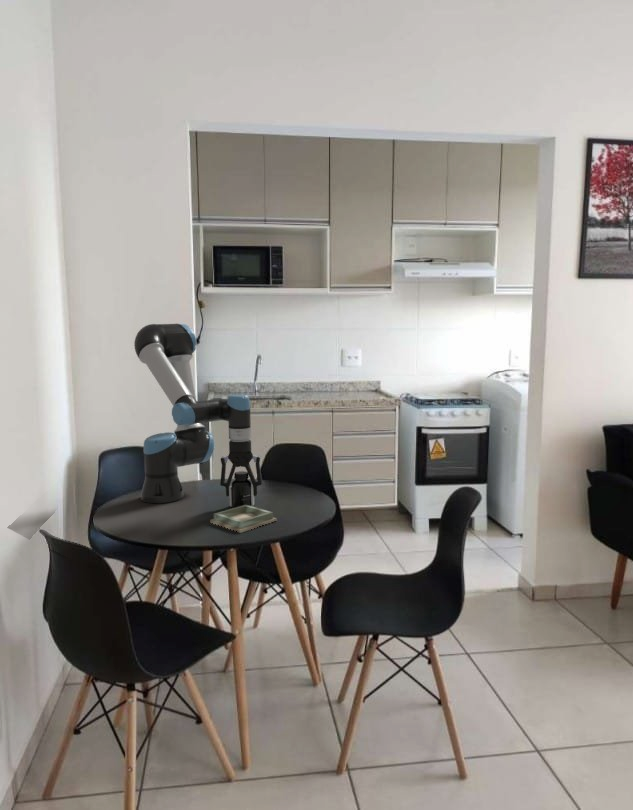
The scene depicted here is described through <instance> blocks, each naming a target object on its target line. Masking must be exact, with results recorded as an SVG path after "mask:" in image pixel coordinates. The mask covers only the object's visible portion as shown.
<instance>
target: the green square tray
mask: <svg viewBox="0 0 633 810" xmlns="http://www.w3.org/2000/svg"><path fill="white" fill-rule="evenodd" d="M274 521H277V522H278V518H277V517H274V512H273V511H269V510H266V509H263V508H259V507H255V506H252V505H251V506H249V505H243V506H239V507H236V508H234V507H232V508H229V509H224V510H222V511H218V512H215V513H213V518H212V519H210V520H209V522H210V524H212V523H213V524H212V525H215V524H216V525H215V526H218V525H219V526H218V527H221V526H222V527H221V528H224V527H225V528H224V529H227V528H228V529H227V530H230V529H231V530H230V531H233V530H234V531H233V532H236V531H237V532H236V533H239V534H242V533H245V532H248V531H252V530H254V528H255V529H257V527H258V528H260V527H259V526H261V527H263V526H262V525H264V526H266V525H265V524H267V525H269V524H268V523H270V524H272V523H271V522H274ZM274 523H275V522H274ZM251 529H252V530H251Z"/></svg>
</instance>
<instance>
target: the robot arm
mask: <svg viewBox="0 0 633 810" xmlns="http://www.w3.org/2000/svg"><path fill="white" fill-rule="evenodd" d="M197 343H198V342H197V337H196V334H195V332H194V330H193V329H192V328H191V327H190V326H189V325H187V324H182V323H160V324H159V323H158V324H157V323H151V324H150V323H149V324H147V325H145V326H143V327H142V328H140V329H139V331H138V332H137V334H136V335H135V338H134V345H133V346H134V351H135V354H136V356H137V358H138V360H139V361H140V362H141V363H142V364H145V365H146V366H147V368H148V369H149V372H150V373H151V374H152V375H153V377H154V378H155V380H156V382H157V384H158V385H159V386H160V387H161V390H162V391H163V392H164V394H165V396H166V398H168V400H169V402H170V403H171V404H172V406H173V407H172V408H171V416H172V420H173V422H174V423H175V424H176V428H175V430H173V432H162V433H161V432H160V433H155V434H153V435H149V436H148V437H146V438H145V439H144V441H143V461H144V462H143V463H144V465H143V466H144V482H143V485H142V487H141V488H142V489H141V492H140V500H141V501H142V502H144V503H149V504H164V503H172V502H175V501H179V500H181V499H183V498H184V489H183V486H182V484H181V480H180V478H179V476H178V475H179V472H178V469H179V468H181V467H185V466H190V465H197V464H201V463H204V462H207V461H209V460H210V459H211V458H212V456H213V454H214V450H215V440H214V436H213V435H212V433H211V432H210V431H207V430H206V426H205V425H204V424H202V423H210V422H211V423H212V422H218V421H226V422H227V424H228V439H229V441H228V450H229V453H228V455H227V456H226V455H225V456H221V458H220V462H221V463H220V464H221V472H220V481H219V483H220V484H219V485H220V486H221V487H224V488H225V493H226V494H225V495H226V497H228V498H229V507H233V506H232V485H231V484H232V481H233V480H232V479H233V478H234V473H235V470H236V469H237V468H239V467H240V468H241V467H242V468H245V470H246V472H248V476H249V480H250V481H251V506H252V507H255V506H254V505H255V497H256V496H257V495H258V487H259V486H261V485H262V484H263V478H262V472H261V465H260V461H261V455H254V454H253V453H252V441H251V438H252V429H251V428H252V426H251V423H252V422H251V420H252V419H251V403H250V402H251V401H250V400H251V399H250V396H249V395H247V394H230V395H228V396H227V399H226V398H221V397H213V398H211V399H207V400H197V396H196V391H195V386H194V381H193V375H192V374H193V373H192V370H191V369H192V368H191V364H190V363H191V362H190V361H191V360H192V358H193V353H195V351H196V349H197ZM252 459H253V462H254V463H255V471H256V476H257V480H256V478H255V475H254V473H253V471H252V468H251V465H250V462H252ZM228 461H230V463H231V465H232V466H231V468H230V471H229V474H228V477H227V480H226V474H227V471H226V470H227V463H228Z"/></svg>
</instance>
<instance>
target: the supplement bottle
mask: <svg viewBox="0 0 633 810" xmlns="http://www.w3.org/2000/svg"><path fill="white" fill-rule="evenodd" d="M233 478H234V480H232V481H231V486H232V506H231V507H232V508H236V507H239V506H243V505H249V506H252V505H251V486H252V482H251V480H250V477H249V475H248V472H247V471H243V470H241V471H236V472H235V471H234V474H233Z"/></svg>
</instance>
